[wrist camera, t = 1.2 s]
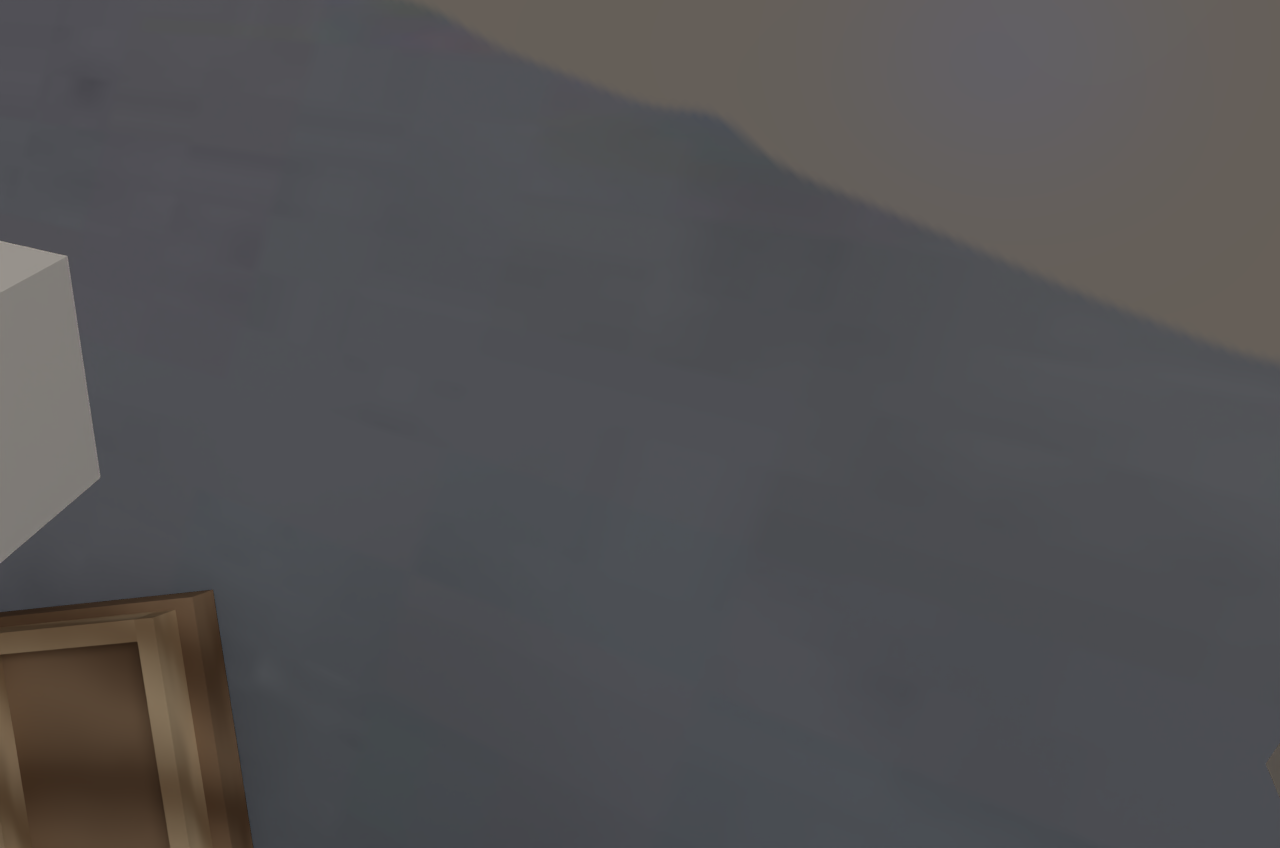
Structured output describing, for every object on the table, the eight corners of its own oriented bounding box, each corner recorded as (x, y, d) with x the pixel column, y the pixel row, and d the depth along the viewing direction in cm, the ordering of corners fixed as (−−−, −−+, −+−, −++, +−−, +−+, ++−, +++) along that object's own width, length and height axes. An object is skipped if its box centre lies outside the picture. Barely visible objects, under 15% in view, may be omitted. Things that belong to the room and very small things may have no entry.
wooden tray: (270, 961, 50) (233, 999, 47) (44, 964, 53) (-5, 999, 50) (212, 589, 49) (170, 604, 46) (-14, 613, 52) (-67, 629, 49)
